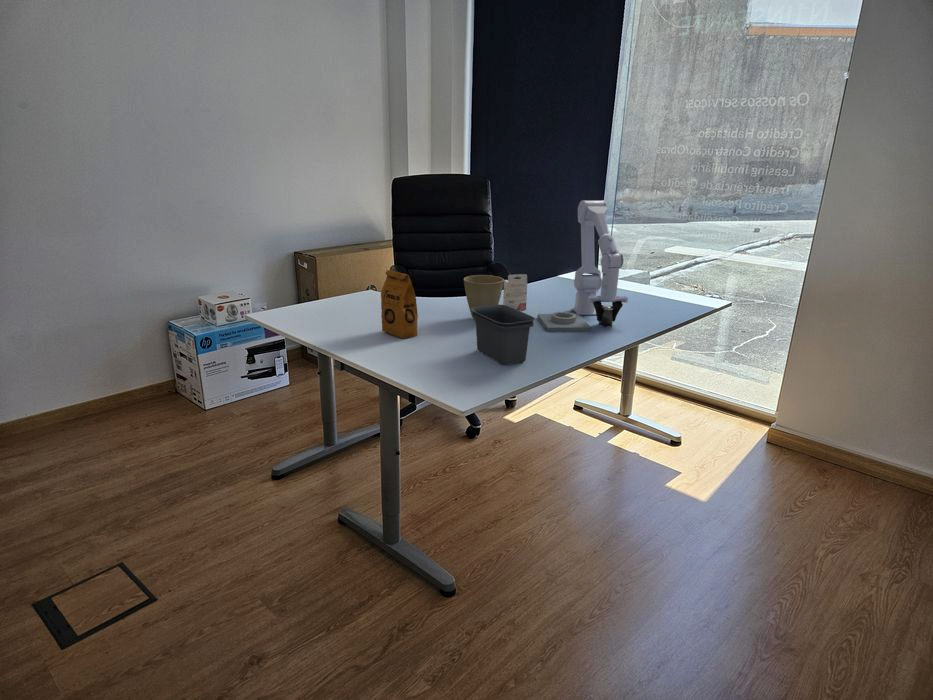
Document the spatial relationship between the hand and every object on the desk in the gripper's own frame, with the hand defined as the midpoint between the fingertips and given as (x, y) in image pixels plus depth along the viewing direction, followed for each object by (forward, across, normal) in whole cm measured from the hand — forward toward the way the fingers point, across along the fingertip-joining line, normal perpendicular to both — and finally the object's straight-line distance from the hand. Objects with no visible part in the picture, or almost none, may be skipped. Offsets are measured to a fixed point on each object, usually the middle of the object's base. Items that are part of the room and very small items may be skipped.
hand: (605, 320), depth 226 cm
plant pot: (+2, -46, +7) cm, 47 cm away
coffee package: (+2, -77, -10) cm, 78 cm away
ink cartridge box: (+2, -31, +23) cm, 39 cm away
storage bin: (+2, -44, -33) cm, 55 cm away
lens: (+2, 0, 0) cm, 2 cm away
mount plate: (+2, -16, +1) cm, 16 cm away
